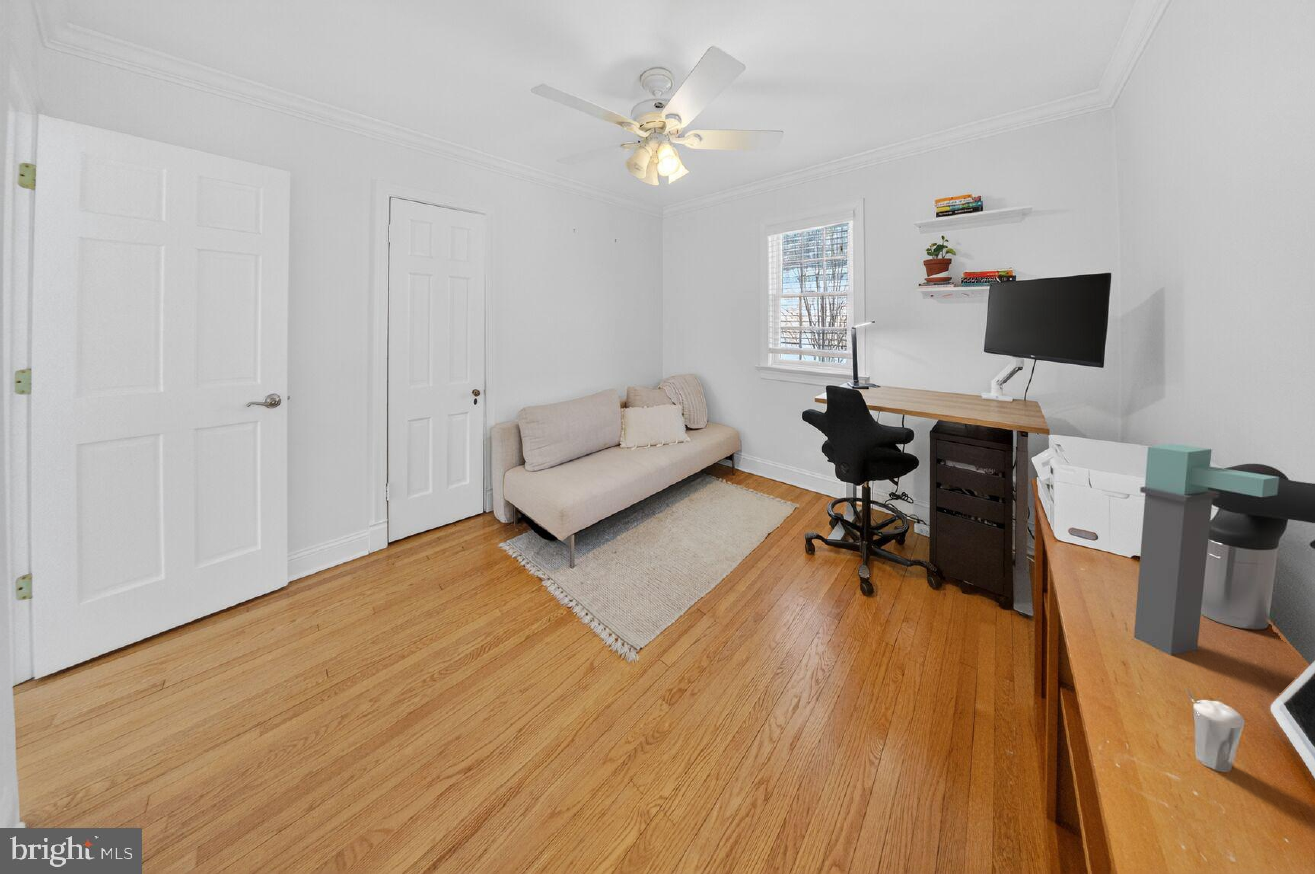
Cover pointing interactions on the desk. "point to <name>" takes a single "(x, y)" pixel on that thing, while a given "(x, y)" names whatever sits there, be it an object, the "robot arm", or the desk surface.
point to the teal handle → (1200, 473)
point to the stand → (1172, 568)
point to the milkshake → (1216, 733)
